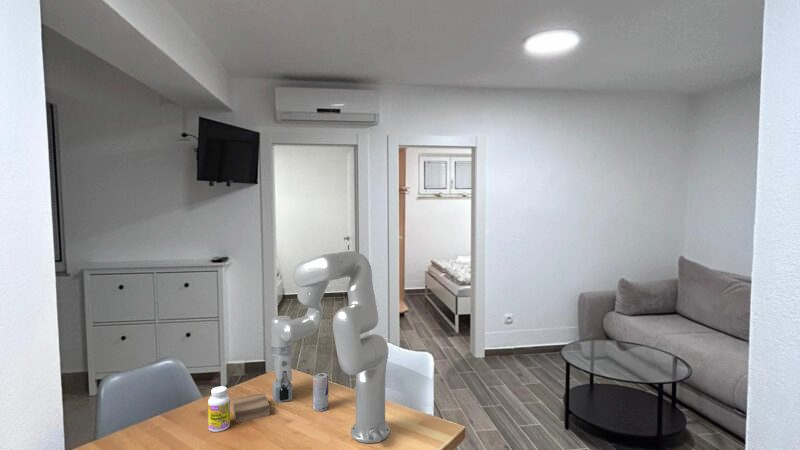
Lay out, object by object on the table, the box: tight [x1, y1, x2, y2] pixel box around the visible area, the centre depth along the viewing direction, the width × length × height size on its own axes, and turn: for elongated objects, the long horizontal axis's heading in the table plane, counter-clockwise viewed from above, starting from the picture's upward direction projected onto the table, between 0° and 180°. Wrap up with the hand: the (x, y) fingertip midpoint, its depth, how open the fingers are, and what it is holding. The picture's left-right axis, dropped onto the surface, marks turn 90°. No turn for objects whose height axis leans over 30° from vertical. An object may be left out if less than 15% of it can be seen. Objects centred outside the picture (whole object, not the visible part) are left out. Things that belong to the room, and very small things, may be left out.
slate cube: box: [272, 380, 293, 404], centre depth 157 cm, size 6×6×6 cm
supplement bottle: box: [207, 385, 231, 433], centre depth 136 cm, size 7×7×13 cm
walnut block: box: [232, 392, 271, 424], centre depth 146 cm, size 11×11×4 cm
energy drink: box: [312, 372, 329, 413], centre depth 149 cm, size 5×5×12 cm
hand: (282, 395), depth 157 cm, fingers open, 6 cm apart
